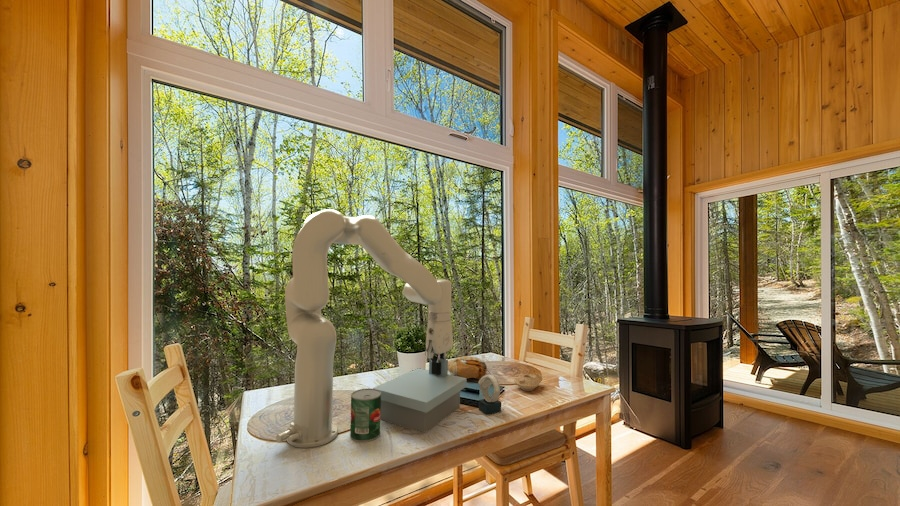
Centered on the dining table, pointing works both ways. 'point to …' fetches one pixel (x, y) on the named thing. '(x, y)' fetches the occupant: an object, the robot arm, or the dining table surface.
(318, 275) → the robot arm
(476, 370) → the bread loaf
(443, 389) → the lid
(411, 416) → the tub
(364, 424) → the canned tomato
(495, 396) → the stone ring on base
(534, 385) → the pottery oil lamp
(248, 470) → the dining table surface
